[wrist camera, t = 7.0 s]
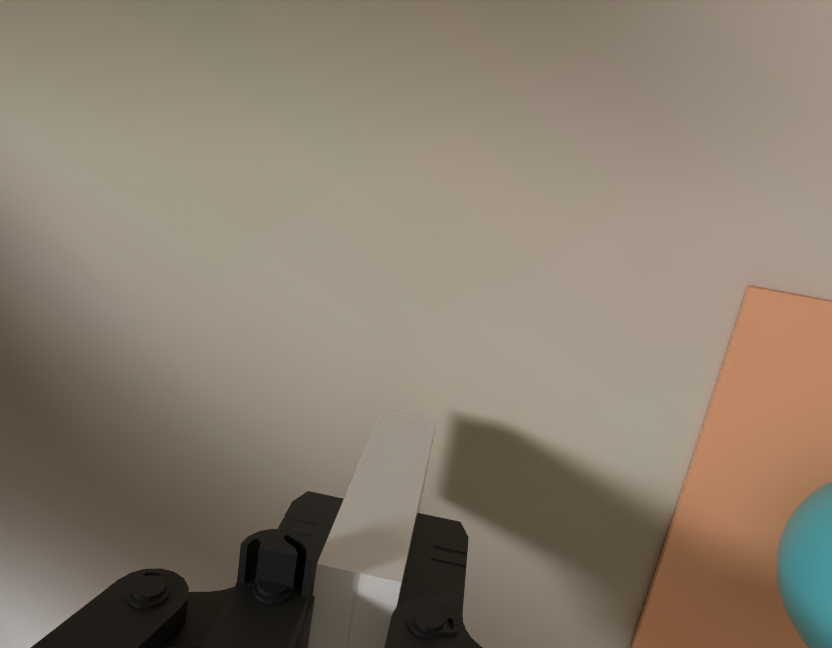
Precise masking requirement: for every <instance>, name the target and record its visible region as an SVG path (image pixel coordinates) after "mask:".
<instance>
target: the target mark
mask: <svg viewBox="0 0 832 648" xmlns="http://www.w3.org/2000/svg"><path fill="white" fill-rule="evenodd" d="M831 481H832V301H831V300H825V299H820V298H815V297H809V296H804V295H798V294H793V293H787V292H782V291H776V290H771V289H765V288H760V287H755V286H749V285H748V287H747V290H746V293H745V296H744V299H743V302H742V306H741V309H740V312H739V315H738V318H737V321H736V324H735V327H734V330H733V333H732V336H731V340H730V343H729V346H728V349H727V352H726V355H725V358H724V361H723V364H722V367H721V370H720V374H719V377H718V380H717V383H716V386H715V389H714V392H713V395H712V398H711V401H710V404H709V407H708V411H707V414H706V417H705V420H704V423H703V426H702V429H701V432H700V435H699V438H698V441H697V445H696V448H695V451H694V454H693V457H692V460H691V463H690V466H689V469H688V472H687V475H686V479H685V482H684V485H683V488H682V491H681V494H680V497H679V500H678V503H677V506H676V509H675V512H674V516H673V519H672V522H671V525H670V528H669V531H668V534H667V537H666V540H665V543H664V546H663V550H662V553H661V556H660V559H659V562H658V565H657V568H656V571H655V574H654V577H653V580H652V583H651V587H650V590H649V593H648V596H647V599H646V602H645V605H644V608H643V611H642V614H641V617H640V621H639V624H638V627H637V630H636V633H635V636H634V639H633V642H632V645H631V648H808V647H807V646H806V644H805V643H804V642H803V640H802V639H801V637H800V636H799V635H798V633H797V632H796V630H795V628H794V626H793V625H792V623H791V621H790V619H789V617H788V615H787V612H786V610H785V607H784V605H783V602H782V599H781V595H780V592H779V588H778V582H777V569H776V561H777V551H778V545H779V541H780V538H781V535H782V532H783V530H784V528H785V525H786V523H787V521H788V519H789V518H790V516H791V515H792V513H793V512H794V511H795V509H796V508H797V507H798V506H799V505H800V504H801V503H802V502H803V501H804V500H805V499H806V498H807V497H808V496H809V495H810V494H811V493H813V492H814V491H815V490H817V489H818V488H820V487H821V486H823V485H825V484H827V483H829V482H831Z"/></svg>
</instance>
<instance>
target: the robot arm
mask: <svg viewBox="0 0 832 648" xmlns="http://www.w3.org/2000/svg"><path fill="white" fill-rule="evenodd" d="M435 425H436V421H435V420H430V419H425V418H420V417H415V416H410V415H405V414H400V413H395V412H390V411H385V410H381V411H380V413H379V416H378V418H377V420H376V423H375V425H374V428H373V430H372V432H371V435H370V437H369V440H368V442H367V444H366V447H365V449H364V452H363V454H362V457H361V459H360V461H359V464H358V466H357V469H356V471H355V473H354V476H353V478H352V481H351V483H350V485H349V488H348V490H347V493H346V495H345V498H344V499H342V498H337V497H333V496H328V495H323V494H319V493H314V492H309V491H308V492H306V493H305V494H303V495H302V496H300V497H299V498H297V499H296V500H294V501H293V502H292V503H291V505H290V507H289V509H288V511H287V513H286V514H285V517H284V518H283V520H282V522H281V524H280V525H279V528H278V529H271V530H264V531H259V532H257V533H255V534H253V535H250V536H248V537H247V538H246V539H245V540H244V541H243V542H242V543H241V548H240V558H239V568H238V579H237V583H236V585H235V587H233V588H229V589H225V590H222V591H212V592H188V591H189V587H188V585H187V583H186V581H185V580H184V578H182V577H181V576H179V575H178V574H177V573H175V572H172V571H169V570H165V569H143V570H139V571H136V572H132V573H130V574H128V575H126V576H124V577H122V578H121V579H119V580H117V581H116V582H115V583H114V584H112V585H111V586H110V587H108V588H107V589H106V590H104V591H103V592H102V593H101V594H99V595H98V596H97V597H95V598H94V599H93V600H92V601H90V602H89V603H88V604H86V605H85V606H84V607H83V608H81V609H80V610H79V611H77V612H76V613H75V614H74V615H72V616H71V617H70V618H68V619H67V620H66V621H65V622H63V623H62V624H61V625H59V626H58V627H57V628H56V629H54V630H53V631H52V632H50V633H49V634H48V635H47V636H45V637H44V638H43V639H41V640H40V641H39V642H37V643H36V644H35V645H34V646H32V647H31V648H482V647H481V646H480V645H479V644H477V643H476V642H475V641H474V640H473V639H472V638H471V636H470V635H469V634H468V632H467V631H466V629H465V626H464V624H463V617H462V611H463V599H464V587H465V574H466V562H467V550H468V536H467V534H466V532H465V530H464V528H463V526H462V524H461V522H458V521H454V520H449V519H444V518H439V517H435V516H430V515H425V514H421V513H419V510H420V505H421V499H422V494H423V489H424V483H425V478H426V473H427V468H428V462H429V457H430V452H431V446H432V441H433V436H434V431H435Z"/></svg>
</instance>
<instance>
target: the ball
mask: <svg viewBox="0 0 832 648" xmlns="http://www.w3.org/2000/svg"><path fill="white" fill-rule="evenodd" d="M776 569H777V582H778V588H779V592H780V595H781V599H782V602H783V605H784V607H785V610H786V612H787V615H788V617H789V619H790V621H791V623H792V625H793V626H794V628H795V630H796V632H797V633H798V635H799V636H800V637H801V639H802V640H803V642H804V643H805V644H806V646H807V647H808V648H832V481H831V482H829V483H827V484H825V485H823V486H821V487H820V488H818V489H817V490H815V491H814V492H813V493H811V494H810V495H809V496H808V497H807V498H806V499H805V500H804V501H803V502H802V503H801V504H800V505H799V506H798V507H797V508H796V509H795V511H794V512H793V513H792V515H791V516H790V518H789V519H788V521H787V523H786V525H785V528H784V530H783V532H782V535H781V538H780V541H779V545H778V551H777V561H776Z"/></svg>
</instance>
